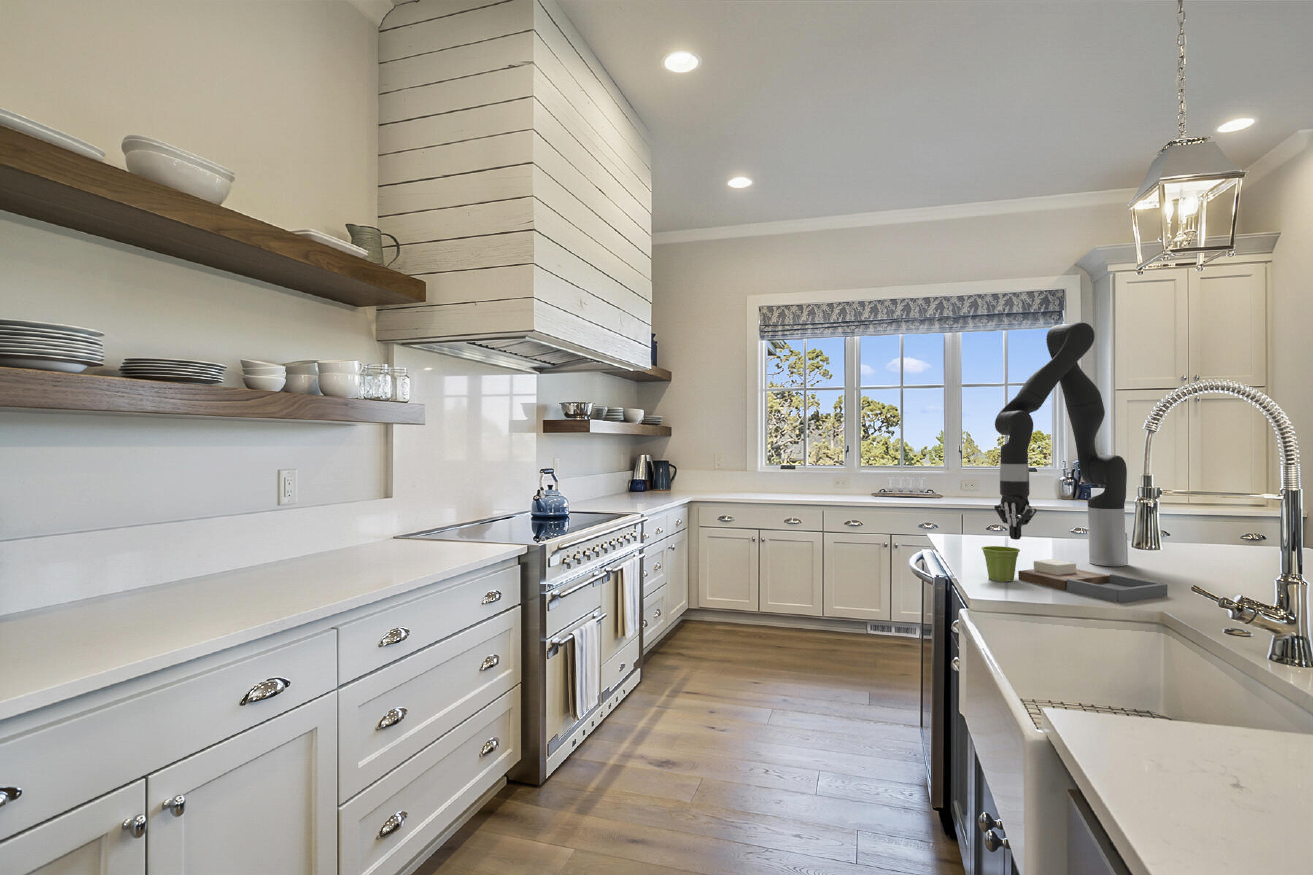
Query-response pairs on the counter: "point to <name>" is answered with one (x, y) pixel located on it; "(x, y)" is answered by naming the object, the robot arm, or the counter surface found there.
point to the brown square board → (1061, 578)
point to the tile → (1055, 567)
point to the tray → (1120, 589)
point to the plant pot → (1001, 562)
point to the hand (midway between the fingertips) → (1015, 539)
